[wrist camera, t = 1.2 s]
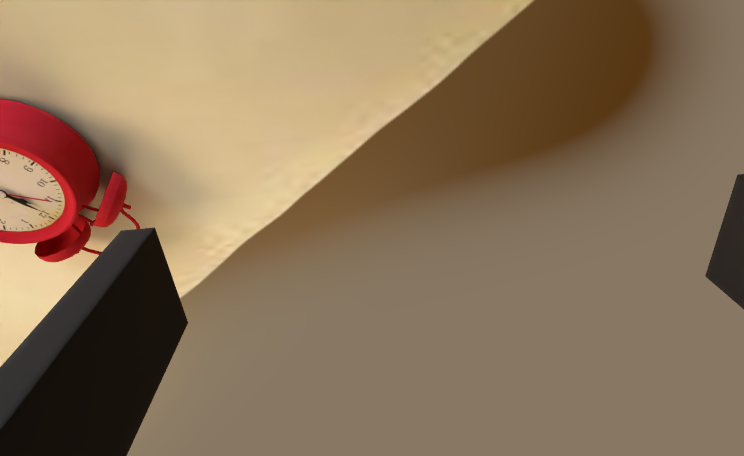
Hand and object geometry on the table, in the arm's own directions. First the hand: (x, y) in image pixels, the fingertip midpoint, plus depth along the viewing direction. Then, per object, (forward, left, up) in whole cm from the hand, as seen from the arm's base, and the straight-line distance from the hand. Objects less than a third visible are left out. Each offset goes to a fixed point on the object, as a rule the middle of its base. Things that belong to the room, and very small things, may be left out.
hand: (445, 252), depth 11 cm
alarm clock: (-4, -26, -26) cm, 37 cm away
